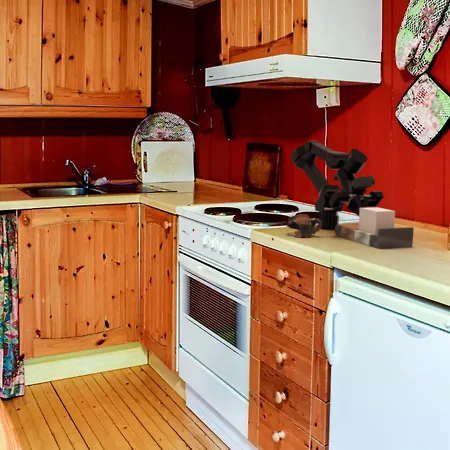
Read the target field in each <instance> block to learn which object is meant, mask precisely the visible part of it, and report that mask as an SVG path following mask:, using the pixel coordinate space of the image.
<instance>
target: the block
mask: <svg viewBox="0 0 450 450" xmlns="http://www.w3.org/2000/svg"><path fill="white" fill-rule="evenodd" d="M395 217H396V210H391V209H387V208H382V207H377V206H376V207H367V208H360V212H359V216H358V227H357V229H358V230H359V231H362V232H366V233H370V234H373V235H377V236H378V229H382V228H395Z"/></svg>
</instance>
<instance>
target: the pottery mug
mask: <svg viewBox="0 0 450 450" xmlns="http://www.w3.org/2000/svg"><path fill="white" fill-rule="evenodd" d="M316 224H317V226H316ZM322 225H323V224H322V223H321V220H320V219H319V218H314V219H313V218H312V219H311V218H310V216H309V215H308V214H303V213H302V214H296V215H292V216H290V217H288V219H287V224H286V226H285V227H286V228H288V229H293V230H294V237H295V238H297V239H298V238H303V237H304V238H312V236H313V235H315V234H316V233H317V232H319V231H320V230H321V229H322V228H321V227H322ZM315 226H316V227H315Z"/></svg>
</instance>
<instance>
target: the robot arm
mask: <svg viewBox="0 0 450 450" xmlns="http://www.w3.org/2000/svg"><path fill="white" fill-rule="evenodd" d="M317 157H318V158H320V159H321V160H322V161H324V162H325V165H326V167H327V168H328V169H330V170H337V171H336V172H335V173H334V176H333V181H334V182H335V181H338V182H339V184H340V186H339V185H338V184H330V182H329V181H328V179H326V177H325V175H324V174H323V173H322V171H321V170H320V168H318V166H317V164H316V163H315V160H316V158H317ZM290 161H291V162H292V164H293V165H294V166H295V167H296V168H298V169H300V170H303V172H304V173H305V175H306V176H307V178H308V179H309V181H310V182H311V183H312V185H313V186H314V188H315V189H316V191H317V192H318V198H317V201H316V202H315V204H314V210H315V212H318V219H320V220H321V223H322V224H323V225H322V227H321V229H323V230H335V229H336V225H340V215H338V214H339V212H340V213H342V212H343V208H344V205H345V203H346V206H345V209H346V210H348V211H351V212H352V213H353V214H355V215H357V217H359V212H360V208H375V207H377V206H378V205H379V204H380V203H381V201H383V199H384V198H385V195H384V193H383V191H381V190H371V191H370V192H369V193H368V194H366V192H368V190H367V189H368V188H370V187H371V188H372V187H373V186H374V185H375V184H376V180H375V177H374V176H373V175H367V176H358V177H357V176H356V174H358V173H360V171H361V170H362V168H363V167H364V166H365V164H366V163H367V162H368V157H367V155H366V154H365V153H364V152H362V151H361V150H359V149H358V148H355V147H354V148H351V150H350V151H349V153H347V152H343V151H342V152H341V151H335V150H333V149H332V148H329V147H328V146H327V145H324V144H322V143H321V142H320V141H318V140H307V141H306V142H305V143H304V144H302V145H299V146H298V147H296V148H295V149H294V150H293V151H292V152H291V154H290ZM340 187H341V188H340Z"/></svg>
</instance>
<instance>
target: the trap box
mask: <svg viewBox="0 0 450 450" xmlns="http://www.w3.org/2000/svg"><path fill="white" fill-rule="evenodd" d="M414 229H415V228H414V227H411V226H409V227H408V226H407V227H406V226H405V227H394V228H382V229H378V236H377V235H373V234H370V233H366V232H362V231H359V230H358V228H350V227H348V226H343V225H340V224H339V225H336V229H334V231H335V232H334V233H335V235H334V236H335V237H339V238H342V239H346V240H349V241H352V242H355V243H359V244H363V245H364V246H369V247H372V248H376V249H379V250H380V249H382V250H383V249H398V248H413V244H414Z"/></svg>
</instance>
